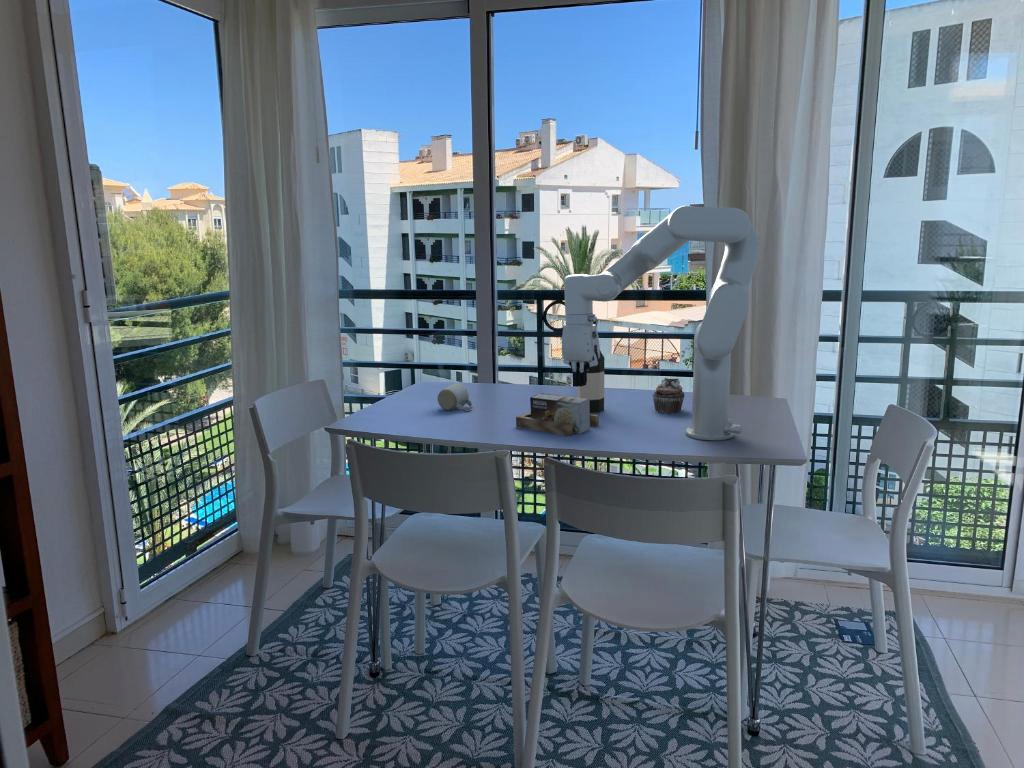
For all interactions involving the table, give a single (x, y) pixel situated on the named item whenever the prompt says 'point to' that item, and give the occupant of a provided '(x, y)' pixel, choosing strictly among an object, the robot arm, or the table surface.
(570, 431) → the u rest
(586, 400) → the coffee box
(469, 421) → the table surface
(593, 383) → the wine bottle
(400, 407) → the table surface
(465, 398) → the ceramic mug
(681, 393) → the cupcake
